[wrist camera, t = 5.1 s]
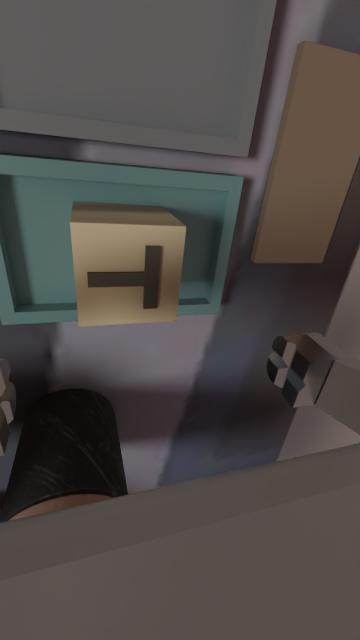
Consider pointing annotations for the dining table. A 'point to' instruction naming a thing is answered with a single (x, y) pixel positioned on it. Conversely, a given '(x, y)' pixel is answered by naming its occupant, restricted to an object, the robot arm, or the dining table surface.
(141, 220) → the letter cube
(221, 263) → the teal bin
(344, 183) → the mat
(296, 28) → the dining table surface
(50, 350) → the dining table surface
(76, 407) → the travel mug
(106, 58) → the gray bin
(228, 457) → the dining table surface
